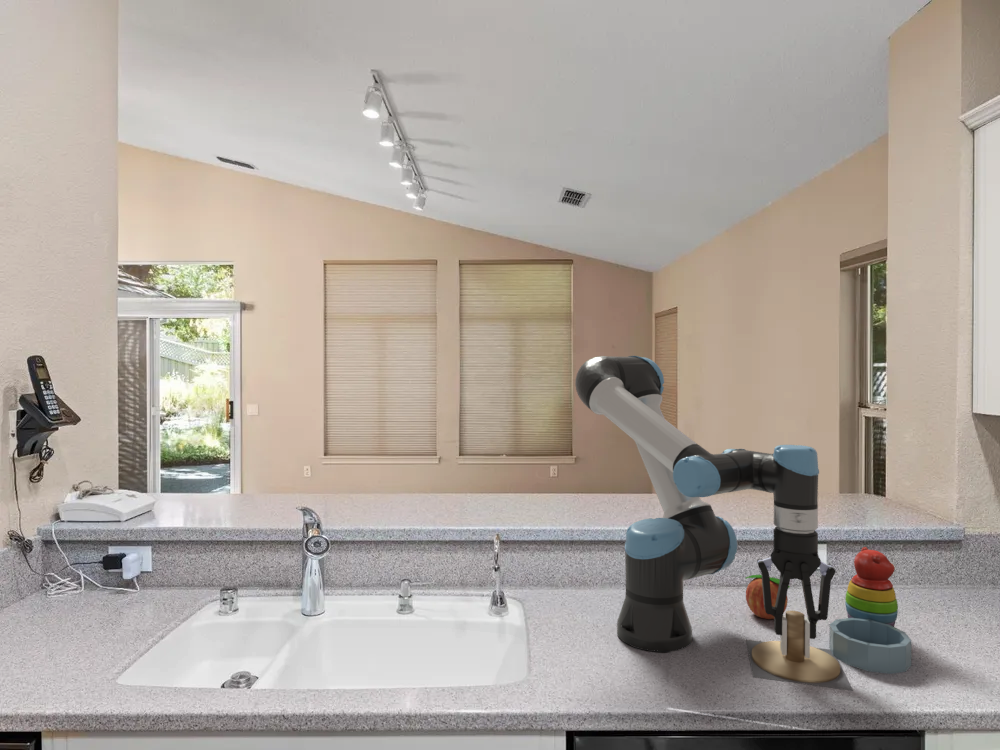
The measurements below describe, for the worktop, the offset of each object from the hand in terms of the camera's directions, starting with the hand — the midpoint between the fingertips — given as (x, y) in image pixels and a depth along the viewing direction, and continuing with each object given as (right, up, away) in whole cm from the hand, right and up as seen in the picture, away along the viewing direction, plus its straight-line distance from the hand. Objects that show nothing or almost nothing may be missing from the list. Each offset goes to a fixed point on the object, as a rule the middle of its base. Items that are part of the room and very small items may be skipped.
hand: (794, 652), depth 117 cm
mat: (0, -2, 0) cm, 2 cm away
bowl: (+15, -2, +3) cm, 16 cm away
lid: (0, -2, 0) cm, 2 cm away
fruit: (+4, -2, +22) cm, 23 cm away
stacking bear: (+22, -2, +12) cm, 25 cm away
